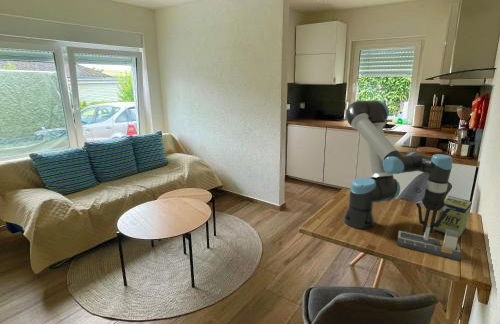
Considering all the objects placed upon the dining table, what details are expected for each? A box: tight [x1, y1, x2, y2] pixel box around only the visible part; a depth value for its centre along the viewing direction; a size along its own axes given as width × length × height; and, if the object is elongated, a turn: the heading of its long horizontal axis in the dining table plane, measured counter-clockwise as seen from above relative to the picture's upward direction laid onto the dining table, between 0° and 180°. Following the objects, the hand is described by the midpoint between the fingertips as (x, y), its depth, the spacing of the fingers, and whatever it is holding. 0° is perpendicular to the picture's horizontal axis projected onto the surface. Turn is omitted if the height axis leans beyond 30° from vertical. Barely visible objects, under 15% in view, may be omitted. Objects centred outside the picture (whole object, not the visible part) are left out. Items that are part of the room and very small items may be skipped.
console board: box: [396, 229, 462, 262], centre depth 134 cm, size 24×12×3 cm, turn 62°
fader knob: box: [443, 229, 460, 250], centre depth 129 cm, size 4×5×7 cm
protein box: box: [434, 195, 473, 241], centre depth 146 cm, size 10×16×16 cm
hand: (425, 238), depth 134 cm, fingers closed
